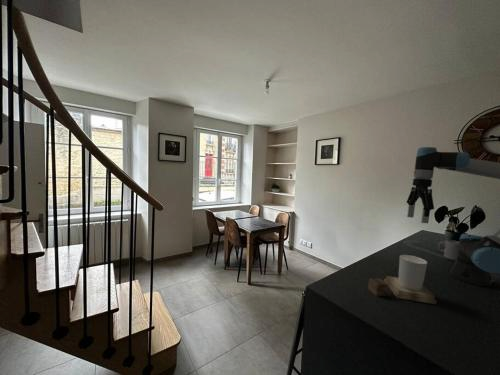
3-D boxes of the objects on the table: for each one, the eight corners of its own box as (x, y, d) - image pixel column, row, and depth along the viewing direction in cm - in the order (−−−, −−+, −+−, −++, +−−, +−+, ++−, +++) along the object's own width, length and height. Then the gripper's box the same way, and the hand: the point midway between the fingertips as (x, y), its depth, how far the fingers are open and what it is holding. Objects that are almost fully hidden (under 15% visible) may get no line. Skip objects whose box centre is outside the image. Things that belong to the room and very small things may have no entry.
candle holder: (416, 281, 100) (419, 256, 99) (428, 293, 90) (433, 265, 89) (392, 278, 102) (395, 253, 101) (402, 289, 92) (406, 261, 91)
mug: (461, 258, 143) (463, 242, 142) (461, 262, 137) (464, 245, 136) (437, 252, 151) (439, 237, 150) (436, 255, 145) (438, 239, 144)
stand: (417, 286, 102) (418, 280, 102) (435, 304, 88) (437, 297, 88) (384, 281, 105) (384, 275, 104) (397, 297, 91) (398, 290, 91)
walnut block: (378, 289, 97) (379, 278, 97) (386, 295, 92) (388, 284, 92) (367, 289, 96) (369, 278, 96) (375, 295, 91) (377, 284, 91)
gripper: (402, 177, 123) (397, 214, 125) (428, 178, 99) (422, 224, 101) (417, 178, 122) (412, 215, 124) (448, 180, 97) (441, 226, 99)
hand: (416, 220), depth 112 cm, fingers open, 13 cm apart
